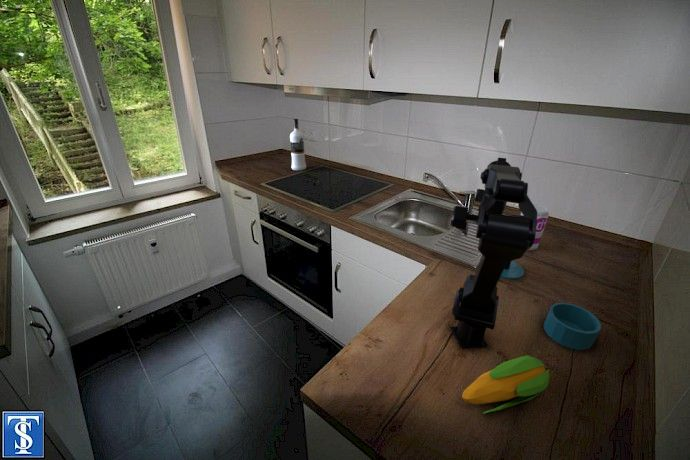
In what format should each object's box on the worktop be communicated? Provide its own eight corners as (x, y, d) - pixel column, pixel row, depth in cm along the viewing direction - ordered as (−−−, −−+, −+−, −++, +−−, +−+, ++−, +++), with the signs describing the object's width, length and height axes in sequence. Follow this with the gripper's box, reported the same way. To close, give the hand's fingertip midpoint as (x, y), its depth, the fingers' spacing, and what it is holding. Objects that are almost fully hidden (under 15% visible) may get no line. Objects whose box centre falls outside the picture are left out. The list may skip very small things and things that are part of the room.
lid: (530, 279, 97) (540, 251, 92) (496, 281, 96) (504, 253, 91) (510, 259, 106) (518, 233, 102) (479, 261, 105) (485, 235, 101)
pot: (603, 348, 73) (612, 331, 71) (562, 351, 72) (570, 334, 70) (571, 317, 82) (578, 301, 80) (534, 320, 81) (541, 303, 79)
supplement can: (542, 250, 112) (556, 212, 105) (521, 252, 111) (533, 214, 104) (527, 239, 119) (538, 203, 112) (507, 241, 118) (518, 204, 111)
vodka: (300, 165, 202) (297, 117, 188) (309, 169, 196) (306, 118, 182) (288, 168, 197) (284, 118, 183) (296, 172, 191) (293, 120, 177)
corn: (566, 368, 59) (482, 402, 53) (556, 396, 63) (475, 431, 56) (533, 341, 66) (454, 369, 60) (525, 368, 69) (449, 397, 63)
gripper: (535, 185, 80) (519, 221, 93) (459, 176, 87) (454, 211, 99) (533, 220, 75) (516, 252, 88) (452, 208, 81) (447, 240, 94)
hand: (482, 237), depth 92 cm, fingers open, 9 cm apart
